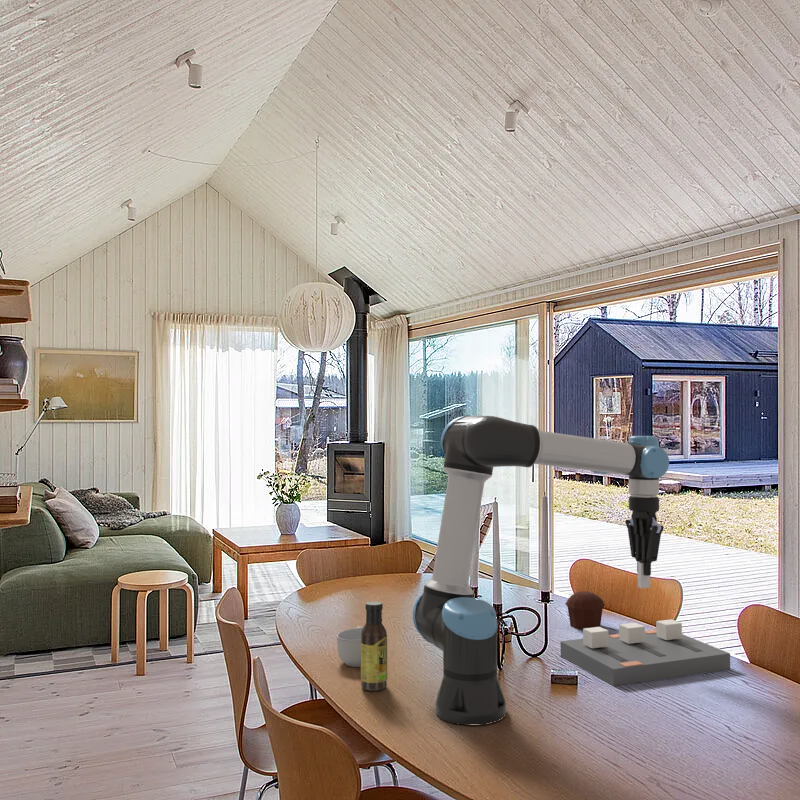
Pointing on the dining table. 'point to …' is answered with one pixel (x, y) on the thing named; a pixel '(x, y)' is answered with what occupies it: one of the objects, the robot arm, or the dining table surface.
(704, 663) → the switch panel
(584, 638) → the switch
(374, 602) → the sauce bottle
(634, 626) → the switch middle
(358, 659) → the teacup
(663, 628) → the switch
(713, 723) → the dining table surface
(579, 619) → the muffin
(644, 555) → the robot arm
